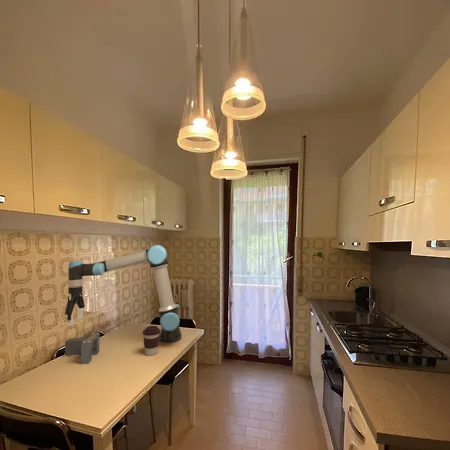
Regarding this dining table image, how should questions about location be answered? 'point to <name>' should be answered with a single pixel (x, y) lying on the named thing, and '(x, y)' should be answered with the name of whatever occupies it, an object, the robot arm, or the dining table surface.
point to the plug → (73, 346)
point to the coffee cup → (151, 340)
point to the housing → (90, 348)
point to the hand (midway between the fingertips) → (75, 322)
